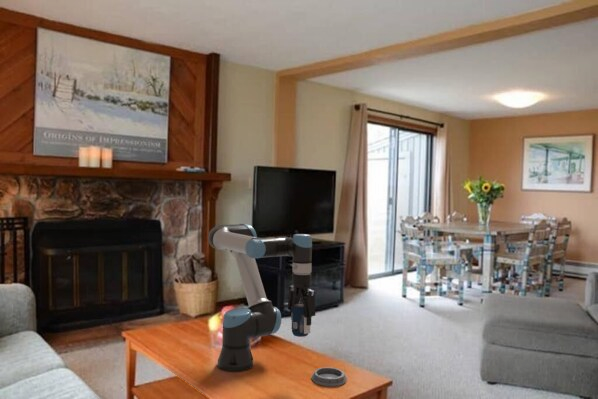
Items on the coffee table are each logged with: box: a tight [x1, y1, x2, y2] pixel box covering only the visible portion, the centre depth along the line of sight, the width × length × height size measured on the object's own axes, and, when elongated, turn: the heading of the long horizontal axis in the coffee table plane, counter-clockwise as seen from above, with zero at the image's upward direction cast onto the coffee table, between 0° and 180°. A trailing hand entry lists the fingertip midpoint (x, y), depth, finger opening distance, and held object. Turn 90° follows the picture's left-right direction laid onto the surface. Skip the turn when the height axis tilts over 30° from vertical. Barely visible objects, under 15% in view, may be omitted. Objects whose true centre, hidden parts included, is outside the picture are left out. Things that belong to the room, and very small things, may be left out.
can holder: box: [311, 366, 348, 388], centre depth 192 cm, size 14×14×3 cm
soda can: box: [291, 302, 309, 338], centre depth 190 cm, size 7×7×12 cm
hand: (300, 330), depth 190 cm, fingers closed on soda can, 7 cm apart
